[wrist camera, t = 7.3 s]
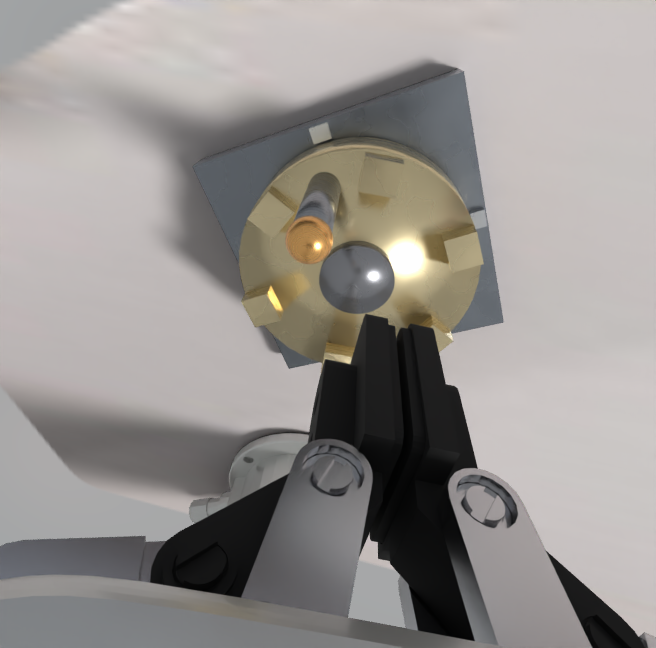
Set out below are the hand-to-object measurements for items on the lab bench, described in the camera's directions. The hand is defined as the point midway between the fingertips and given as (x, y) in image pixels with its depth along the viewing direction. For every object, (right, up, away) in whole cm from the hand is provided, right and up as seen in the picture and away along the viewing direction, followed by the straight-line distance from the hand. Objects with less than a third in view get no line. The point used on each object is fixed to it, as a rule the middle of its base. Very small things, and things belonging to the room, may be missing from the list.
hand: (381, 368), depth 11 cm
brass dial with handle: (+1, +5, +16) cm, 17 cm away
